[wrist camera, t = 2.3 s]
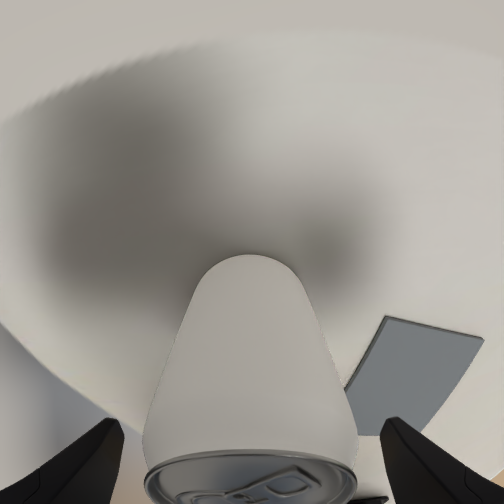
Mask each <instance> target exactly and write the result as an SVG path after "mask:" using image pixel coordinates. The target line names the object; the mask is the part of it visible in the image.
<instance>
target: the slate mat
mask: <svg viewBox="0 0 504 504" xmlns="http://www.w3.org/2000/svg"><path fill="white" fill-rule="evenodd" d="M484 341H485V340H484V339H483V338H480V337H475V336H470V335H466V334H461V333H457V332H452V331H448V330H443V329H439V328H434V327H430V326H426V325H421V324H417V323H413V322H408V321H404V320H400V319H396V318H392V317H387V316H385V319H384V321H383V322H382V324H381V326H380V328H379V330H378V332H377V334H376V336H375V338H374V340H373V342H372V344H371V345H370V347H369V349H368V351H367V353H366V354H365V356H364V358H363V360H362V361H361V363H360V365H359V367H358V368H357V370H356V372H355V374H354V375H353V377H352V379H351V380H350V382H349V383H348V385H347V387H346V388H345V390H344V391H345V394H346V397H347V400H348V403H349V405H350V408H351V411H352V414H353V418H354V421H355V424H356V428H357V433H358V435H363V436H380V432H381V429H382V427H383V425H384V422H385V420H386V419H387V418H390V417H395V416H398V417H400V418H401V419H402V420H404V421H405V422H406V423H408V424H409V425H410V426H412V427H413V428H414V429H416V430H417V431H418V432H421V431H422V430H423V429H424V427H425V426H426V425H427V424H428V423H429V421H430V420H431V419H432V418H433V416H434V415H435V414H436V413H437V411H438V410H439V409H440V407H441V406H442V405H443V403H444V402H445V401H446V399H447V398H448V397H449V395H450V394H451V393H452V391H453V390H454V388H455V387H456V385H457V384H458V382H459V381H460V380H461V378H462V377H463V375H464V374H465V372H466V370H467V369H468V367H469V366H470V364H471V363H472V361H473V359H474V358H475V356H476V354H477V353H478V351H479V349H480V348H481V346H482V344H483V342H484Z"/></svg>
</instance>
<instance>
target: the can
mask: <svg viewBox="0 0 504 504" xmlns="http://www.w3.org/2000/svg"><path fill="white" fill-rule="evenodd" d="M358 442H359V439H358V433H357V428H356V424H355V421H354V418H353V414H352V411H351V408H350V405H349V403H348V400H347V397H346V394H345V391H344V389H343V386H342V383H341V380H340V378H339V375H338V372H337V370H336V367H335V364H334V362H333V359H332V356H331V354H330V351H329V349H328V346H327V343H326V341H325V338H324V336H323V333H322V331H321V328H320V326H319V323H318V321H317V318H316V316H315V313H314V311H313V308H312V306H311V303H310V301H309V299H308V296H307V294H306V292H305V289H304V287H303V285H302V283H301V282H300V280H299V279H298V277H297V276H296V275H295V274H294V273H293V272H292V271H291V270H290V269H289V268H288V267H287V266H285V265H284V264H282V263H281V262H279V261H277V260H274V259H272V258H269V257H265V256H261V255H239V256H235V257H231V258H228V259H226V260H223V261H221V262H219V263H218V264H216V265H215V266H213V267H212V268H211V269H210V270H208V271H207V272H206V274H205V275H204V276H203V277H202V279H201V280H200V282H199V283H198V285H197V287H196V289H195V292H194V294H193V296H192V299H191V301H190V304H189V306H188V309H187V311H186V313H185V316H184V318H183V321H182V324H181V326H180V329H179V331H178V334H177V336H176V339H175V342H174V344H173V347H172V349H171V352H170V355H169V357H168V360H167V363H166V365H165V368H164V371H163V374H162V376H161V379H160V382H159V385H158V387H157V390H156V393H155V396H154V399H153V402H152V405H151V408H150V410H149V414H148V417H147V420H146V424H145V427H144V432H143V440H142V444H143V451H144V456H145V460H146V463H147V466H148V469H149V472H148V473H147V474H146V477H145V479H144V488H145V491H146V494H147V495H148V497H149V498H150V499H151V500H152V502H154V503H155V504H346V503H348V502H349V501H350V499H351V498H352V497H353V495H354V494H355V492H356V489H357V478H356V475H355V474H354V472H353V471H352V470H353V466H354V463H355V459H356V456H357V451H358Z"/></svg>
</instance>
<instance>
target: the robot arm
mask: <svg viewBox="0 0 504 504" xmlns="http://www.w3.org/2000/svg"><path fill="white" fill-rule="evenodd" d="M380 442H381V447H382V452H383V457H384V463H385V468H386V473H387V476H388V480H389V483H390V486H391V489H392V493H393V496H394V499H395V503H396V504H504V488H503V487H501V486H499V485H497V484H495V483H493V482H491V481H489V480H488V479H486V478H484V477H482V476H481V475H479V474H477V473H476V472H474V471H473V470H471V469H470V468H469V467H467V466H465V465H464V464H463V463H461V462H460V461H458V460H457V459H456V458H454V457H453V456H451V455H450V454H449V453H447V452H446V451H444V450H443V449H442V448H440V447H439V446H437V445H436V444H435V443H433V442H432V441H431V440H429V439H428V438H426V437H425V436H424V435H422V434H421V433H420V432H418V431H417V430H416V429H414V428H413V427H412V426H410V425H409V424H408V423H406V422H405V421H404V420H402V419H401V418H400V417H398V416H395V417H390V418H387V419H386V420H385V422H384V425H383V427H382V429H381V432H380ZM123 444H124V433H123V430H122V428H121V426H120V423H119V421H118V420H117V419H114V418H105V419H103V420H102V421H101V422H100V423H98V424H97V425H95V426H94V427H93V428H92V429H90V430H89V431H88V432H86V433H85V434H84V435H82V436H81V437H80V438H78V439H77V440H76V441H75V442H73V443H72V444H71V445H69V446H68V447H66V448H65V449H64V450H62V451H61V452H60V453H58V454H57V455H56V456H54V457H53V458H52V459H50V460H49V461H48V462H46V463H45V464H43V465H42V466H41V467H40V468H38V469H36V470H35V471H34V472H33V473H31V474H29V475H28V476H26V477H25V478H23V479H21V480H20V481H18V482H16V483H14V484H13V485H11V486H9V487H7V488H5V489H3V490H1V491H0V504H110V500H111V496H112V493H113V490H114V486H115V483H116V480H117V476H118V472H119V467H120V461H121V455H122V449H123ZM388 500H389V498H388V497H383V498H375V499H367V500H357V501H350V502H348V503H347V504H384V503H385V502H387V501H388Z"/></svg>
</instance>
